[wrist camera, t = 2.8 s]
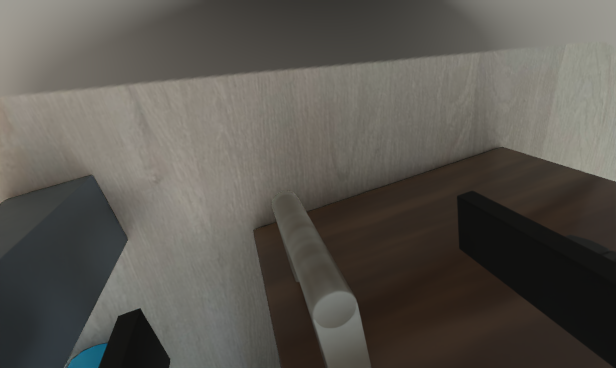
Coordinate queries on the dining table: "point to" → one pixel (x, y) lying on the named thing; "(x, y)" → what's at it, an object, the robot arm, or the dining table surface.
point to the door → (423, 271)
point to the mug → (89, 357)
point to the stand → (53, 269)
